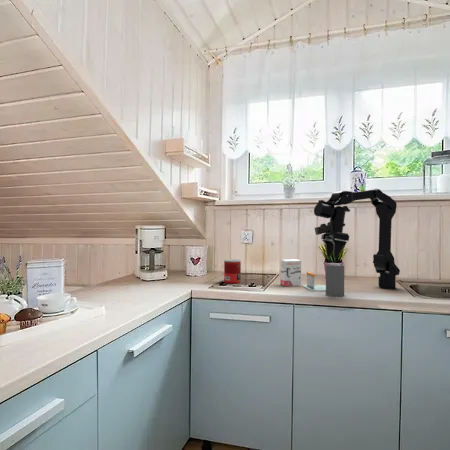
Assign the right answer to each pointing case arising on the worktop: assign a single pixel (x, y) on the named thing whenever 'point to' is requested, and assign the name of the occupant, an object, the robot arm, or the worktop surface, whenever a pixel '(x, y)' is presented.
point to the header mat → (316, 288)
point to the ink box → (290, 272)
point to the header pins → (310, 280)
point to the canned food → (232, 271)
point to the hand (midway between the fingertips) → (331, 257)
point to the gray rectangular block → (335, 280)
